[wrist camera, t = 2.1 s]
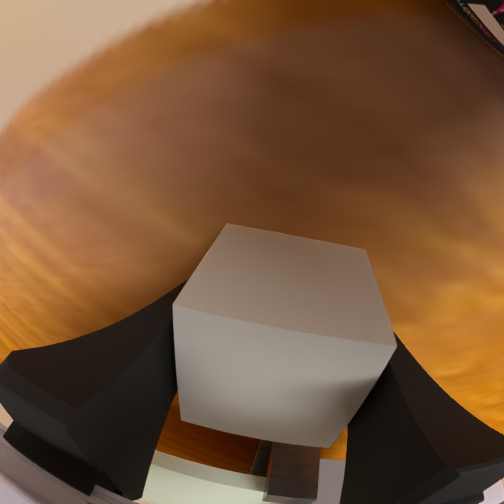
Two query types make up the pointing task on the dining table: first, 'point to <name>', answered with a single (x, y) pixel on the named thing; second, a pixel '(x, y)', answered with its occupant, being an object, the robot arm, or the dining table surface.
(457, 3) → the container
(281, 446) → the frame
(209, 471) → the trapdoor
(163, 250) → the dining table surface
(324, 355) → the grey cube
